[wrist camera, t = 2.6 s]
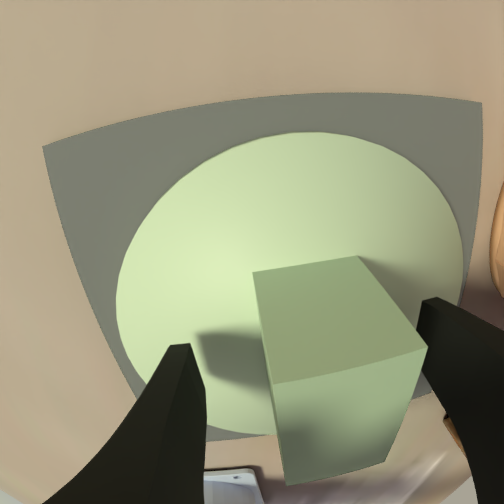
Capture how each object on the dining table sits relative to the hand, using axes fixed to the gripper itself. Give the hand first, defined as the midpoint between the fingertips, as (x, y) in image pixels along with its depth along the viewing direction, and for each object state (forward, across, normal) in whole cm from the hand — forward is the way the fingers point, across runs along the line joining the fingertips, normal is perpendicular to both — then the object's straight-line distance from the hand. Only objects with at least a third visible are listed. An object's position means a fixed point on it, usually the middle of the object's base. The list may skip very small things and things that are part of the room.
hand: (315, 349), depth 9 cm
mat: (+2, 0, 0) cm, 2 cm away
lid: (+2, 0, 0) cm, 2 cm away
